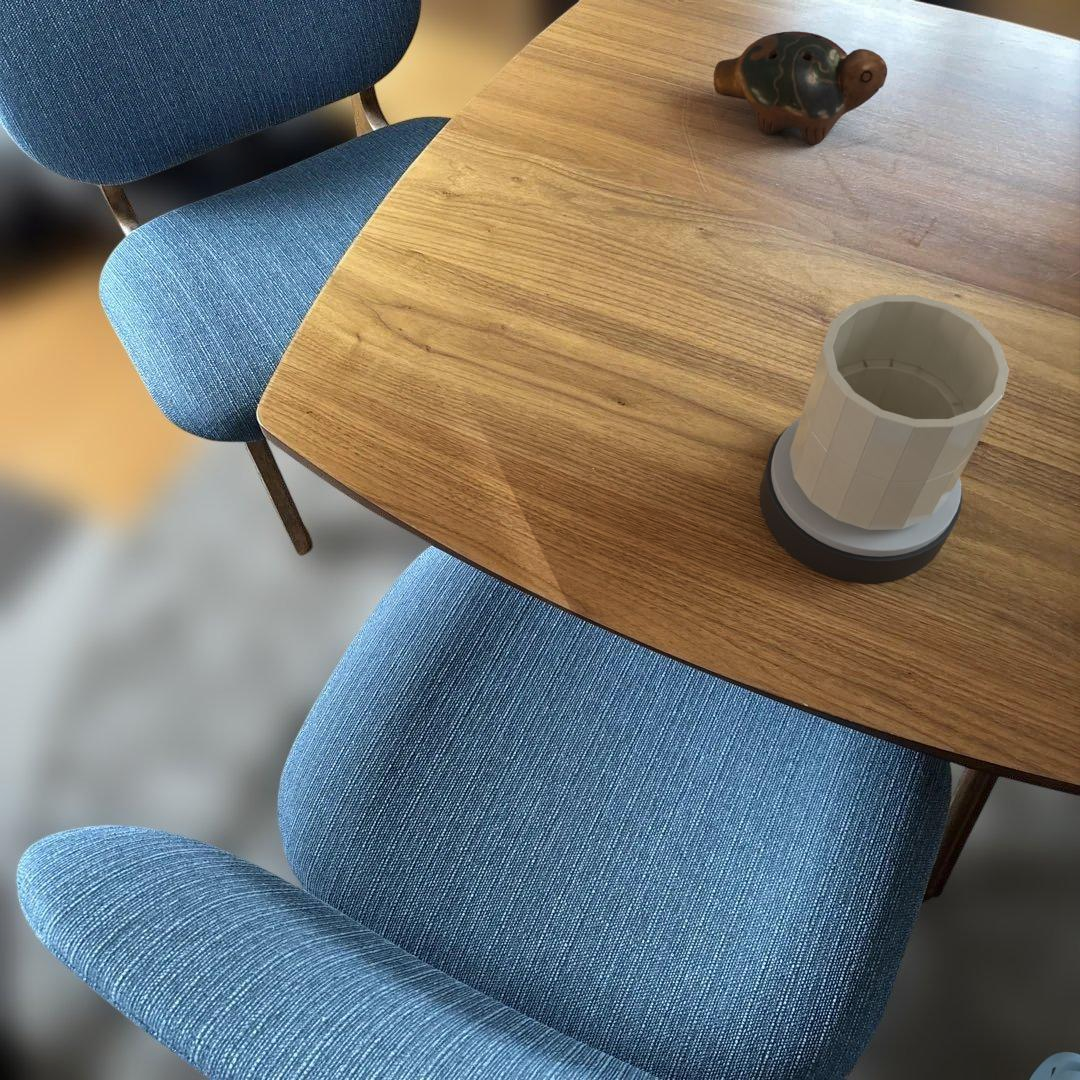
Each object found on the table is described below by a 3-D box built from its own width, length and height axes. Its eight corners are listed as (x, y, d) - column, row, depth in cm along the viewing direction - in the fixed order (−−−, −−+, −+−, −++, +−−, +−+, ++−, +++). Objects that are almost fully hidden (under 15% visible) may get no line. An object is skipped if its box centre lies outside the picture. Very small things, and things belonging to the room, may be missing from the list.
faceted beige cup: (979, 505, 67) (1046, 393, 58) (841, 558, 65) (888, 450, 56) (890, 395, 73) (938, 275, 63) (760, 440, 71) (791, 323, 61)
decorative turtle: (868, 164, 92) (886, 84, 86) (701, 147, 96) (704, 69, 89) (880, 97, 97) (898, 16, 90) (720, 82, 100) (725, 3, 94)
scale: (987, 545, 70) (1007, 514, 67) (821, 610, 67) (833, 581, 64) (881, 410, 77) (894, 377, 74) (726, 465, 74) (733, 432, 71)
